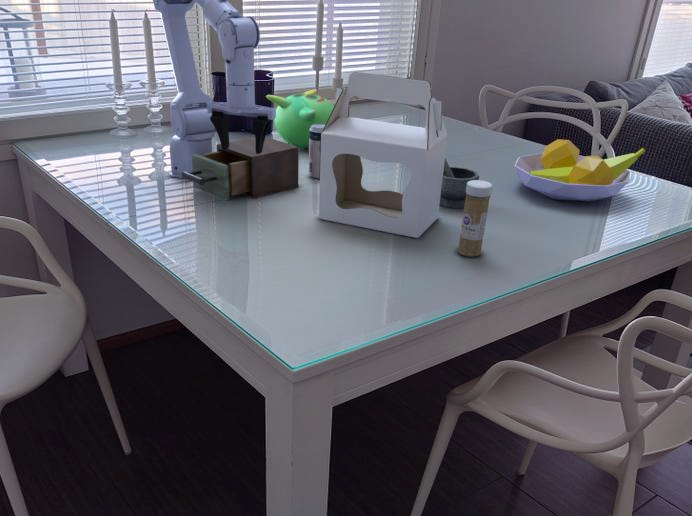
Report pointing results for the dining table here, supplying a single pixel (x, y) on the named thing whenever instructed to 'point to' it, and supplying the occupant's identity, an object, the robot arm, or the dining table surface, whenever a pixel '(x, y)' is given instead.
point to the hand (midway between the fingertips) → (242, 150)
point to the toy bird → (300, 115)
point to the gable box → (382, 158)
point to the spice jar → (315, 149)
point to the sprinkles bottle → (474, 217)
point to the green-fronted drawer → (220, 174)
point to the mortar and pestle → (455, 185)
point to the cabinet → (268, 165)
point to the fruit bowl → (574, 172)
